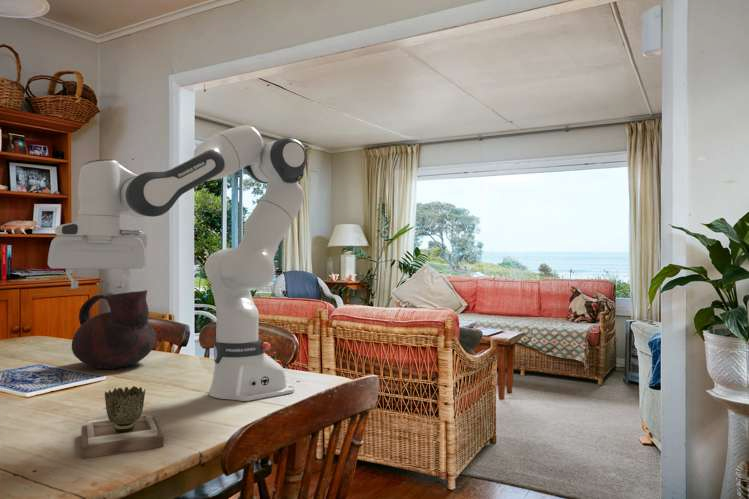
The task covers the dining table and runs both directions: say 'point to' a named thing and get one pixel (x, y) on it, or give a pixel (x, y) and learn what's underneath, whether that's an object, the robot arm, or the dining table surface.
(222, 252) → the robot arm
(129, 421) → the cup
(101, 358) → the jug
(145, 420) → the plate
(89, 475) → the dining table surface
